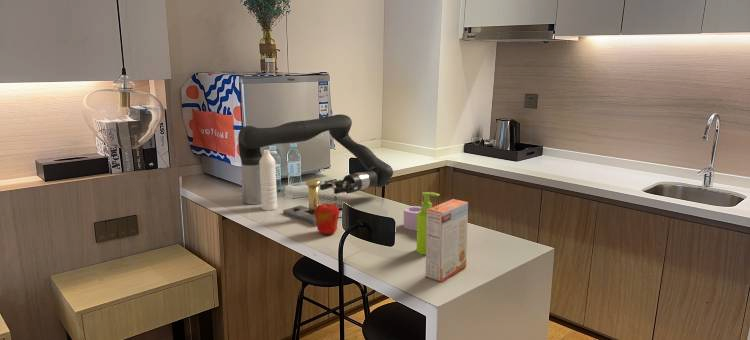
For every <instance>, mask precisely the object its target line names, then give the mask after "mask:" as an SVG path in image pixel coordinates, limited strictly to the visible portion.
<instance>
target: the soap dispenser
mask: <svg viewBox="0 0 750 340" xmlns="http://www.w3.org/2000/svg"><path fill="white" fill-rule="evenodd" d="M421 195H422V196H423V201H422V202H421V205H420V207H421V211H420V212H418V213H417V231H416V253H417V254H420V255H425V256H426V210H427V209H429V208H432V207H433V203H432V202H431V201H430V196H431V197H436V198H439V196H440V193H437V192H432V191H425V192H424V191H423V192H422V194H421Z"/></svg>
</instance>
